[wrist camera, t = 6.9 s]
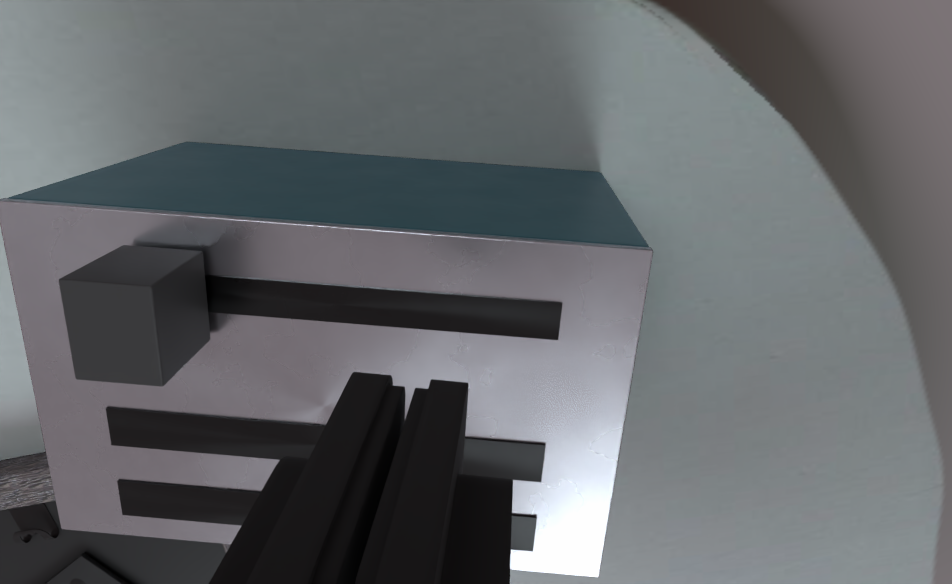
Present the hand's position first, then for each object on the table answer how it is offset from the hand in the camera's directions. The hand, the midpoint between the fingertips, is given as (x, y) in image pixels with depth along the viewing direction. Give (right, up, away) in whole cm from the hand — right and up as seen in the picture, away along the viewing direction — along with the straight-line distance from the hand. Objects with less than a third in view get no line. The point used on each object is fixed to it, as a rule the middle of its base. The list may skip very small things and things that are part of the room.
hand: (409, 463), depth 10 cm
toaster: (-3, +3, +17) cm, 18 cm away
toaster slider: (-7, +2, +7) cm, 10 cm away
